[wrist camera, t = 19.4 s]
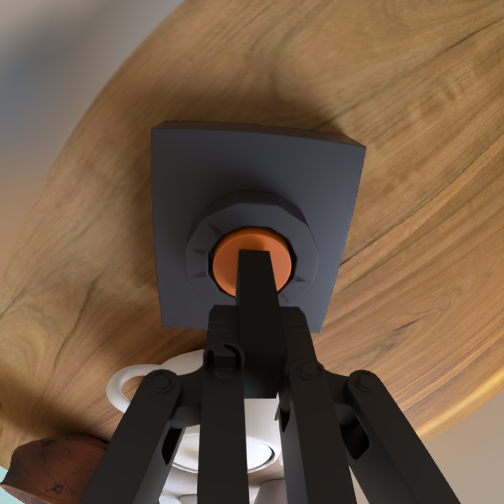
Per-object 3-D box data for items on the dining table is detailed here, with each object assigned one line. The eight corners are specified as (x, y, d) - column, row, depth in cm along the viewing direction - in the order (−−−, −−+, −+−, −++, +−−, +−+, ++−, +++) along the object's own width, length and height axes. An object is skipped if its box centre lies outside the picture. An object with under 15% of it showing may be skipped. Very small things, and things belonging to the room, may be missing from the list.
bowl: (92, 398, 31) (63, 509, 18) (195, 471, 43) (193, 549, 30) (2, 407, 35) (-24, 477, 22) (95, 472, 47) (85, 532, 34)
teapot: (96, 360, 27) (66, 453, 18) (170, 280, 23) (140, 406, 13) (255, 436, 36) (260, 510, 26) (343, 389, 31) (367, 476, 22)
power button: (215, 216, 16) (214, 231, 15) (291, 221, 17) (297, 236, 15) (213, 279, 18) (212, 298, 17) (281, 282, 19) (285, 301, 17)
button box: (164, 120, 17) (140, 134, 13) (347, 135, 18) (380, 155, 14) (169, 298, 23) (157, 346, 19) (311, 304, 24) (325, 351, 20)
